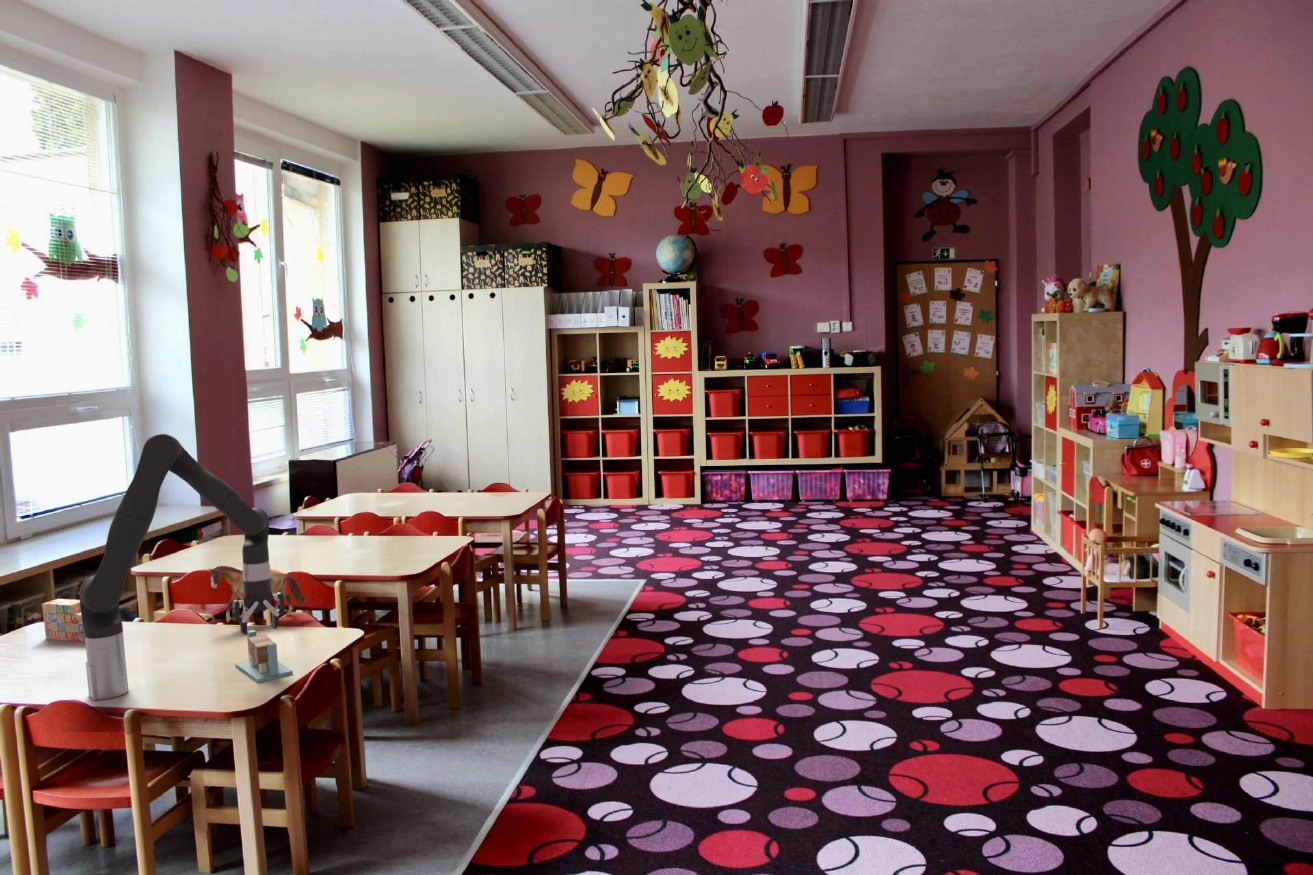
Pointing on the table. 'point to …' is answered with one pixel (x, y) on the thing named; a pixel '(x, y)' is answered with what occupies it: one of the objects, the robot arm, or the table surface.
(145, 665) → the table surface
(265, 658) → the brown wooden block
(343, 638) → the table surface
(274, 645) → the peg stand
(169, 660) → the table surface
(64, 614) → the stack of blocks
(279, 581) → the horse figurine
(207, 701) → the table surface
